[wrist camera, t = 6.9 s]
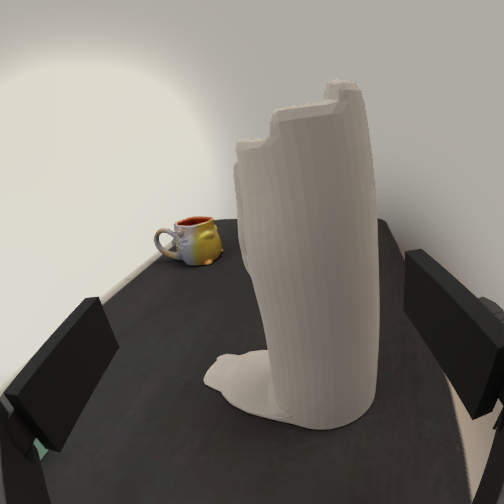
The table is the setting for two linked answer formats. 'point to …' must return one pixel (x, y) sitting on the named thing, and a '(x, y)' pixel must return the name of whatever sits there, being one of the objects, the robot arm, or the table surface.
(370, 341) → the candle
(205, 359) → the table surface
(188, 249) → the mug
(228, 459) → the table surface
